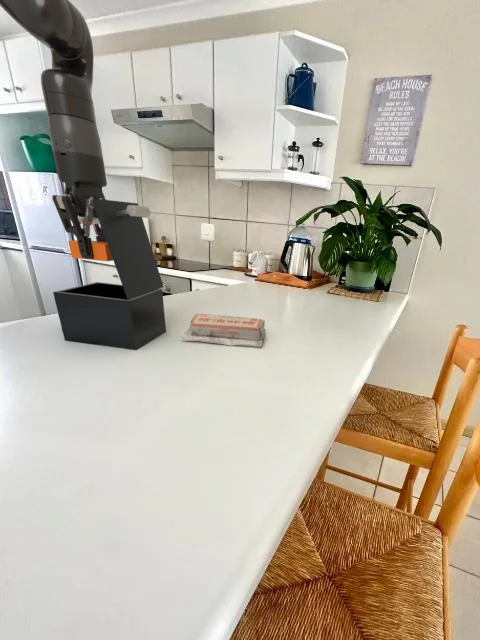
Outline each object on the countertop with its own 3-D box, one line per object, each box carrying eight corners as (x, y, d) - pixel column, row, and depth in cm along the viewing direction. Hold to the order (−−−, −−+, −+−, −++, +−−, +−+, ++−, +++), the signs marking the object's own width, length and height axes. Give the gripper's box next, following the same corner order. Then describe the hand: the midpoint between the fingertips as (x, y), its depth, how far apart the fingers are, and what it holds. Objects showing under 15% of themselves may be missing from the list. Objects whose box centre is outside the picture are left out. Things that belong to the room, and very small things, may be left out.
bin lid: (91, 199, 53) (117, 193, 52) (134, 204, 64) (156, 199, 63) (127, 299, 60) (151, 295, 59) (160, 287, 71) (181, 284, 70)
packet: (71, 257, 62) (68, 240, 61) (87, 255, 66) (84, 239, 65) (107, 261, 62) (104, 244, 60) (121, 259, 66) (119, 243, 64)
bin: (64, 340, 66) (52, 292, 62) (104, 324, 77) (96, 281, 73) (136, 350, 65) (129, 301, 60) (166, 331, 76) (162, 289, 71)
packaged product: (267, 315, 78) (263, 327, 69) (266, 334, 80) (261, 348, 71) (192, 309, 77) (178, 320, 69) (193, 328, 80) (180, 341, 71)
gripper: (87, 159, 63) (102, 252, 71) (23, 142, 50) (50, 258, 58) (123, 161, 62) (135, 256, 70) (67, 145, 49) (89, 262, 57)
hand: (96, 256), depth 64 cm, fingers closed on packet, 4 cm apart
